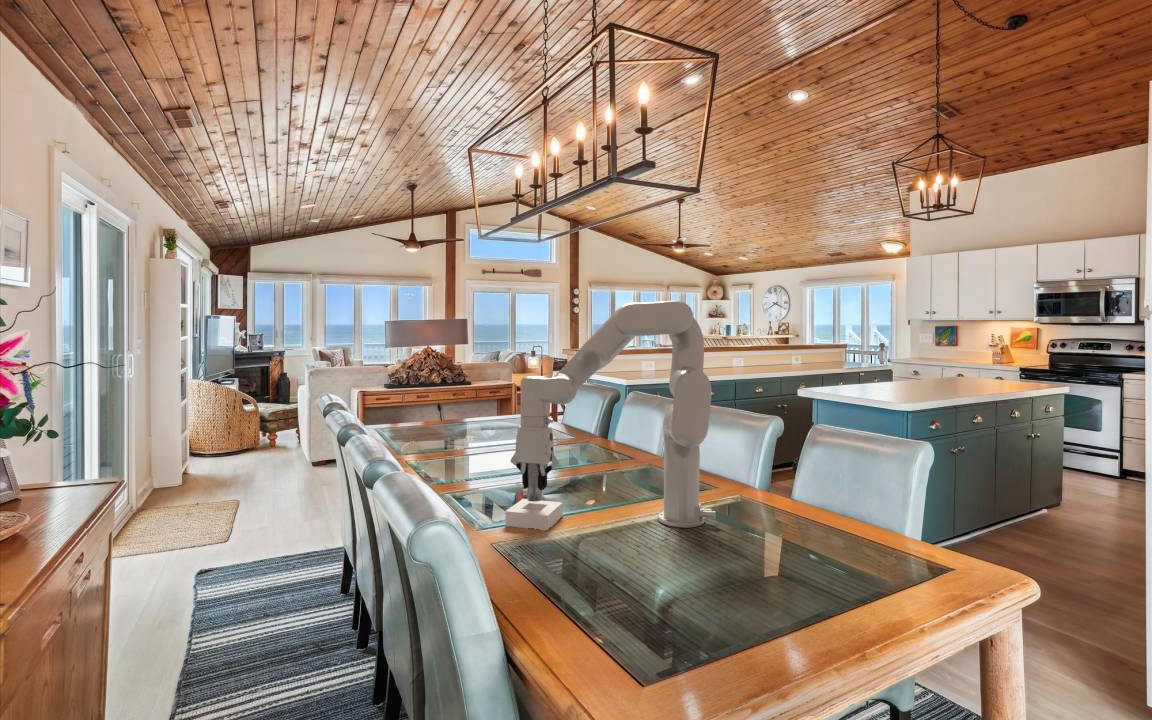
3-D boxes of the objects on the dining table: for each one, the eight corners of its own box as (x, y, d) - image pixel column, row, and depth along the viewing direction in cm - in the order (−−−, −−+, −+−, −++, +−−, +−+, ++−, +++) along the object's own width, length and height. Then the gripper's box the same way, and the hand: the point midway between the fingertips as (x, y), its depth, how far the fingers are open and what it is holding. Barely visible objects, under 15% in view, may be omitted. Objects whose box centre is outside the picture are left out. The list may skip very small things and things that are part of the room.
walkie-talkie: (545, 512, 173) (542, 492, 193) (545, 497, 172) (542, 479, 192) (515, 513, 172) (514, 493, 192) (515, 497, 171) (514, 479, 191)
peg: (544, 498, 164) (544, 454, 164) (538, 502, 161) (538, 458, 160) (530, 496, 166) (530, 453, 165) (525, 500, 162) (524, 457, 161)
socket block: (562, 516, 167) (562, 502, 167) (547, 530, 156) (547, 515, 156) (523, 512, 171) (523, 498, 171) (505, 525, 160) (505, 511, 159)
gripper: (568, 421, 163) (568, 487, 164) (511, 418, 168) (512, 482, 169) (559, 425, 156) (558, 494, 157) (500, 422, 161) (500, 489, 162)
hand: (534, 487), depth 163 cm, fingers closed on peg, 4 cm apart
